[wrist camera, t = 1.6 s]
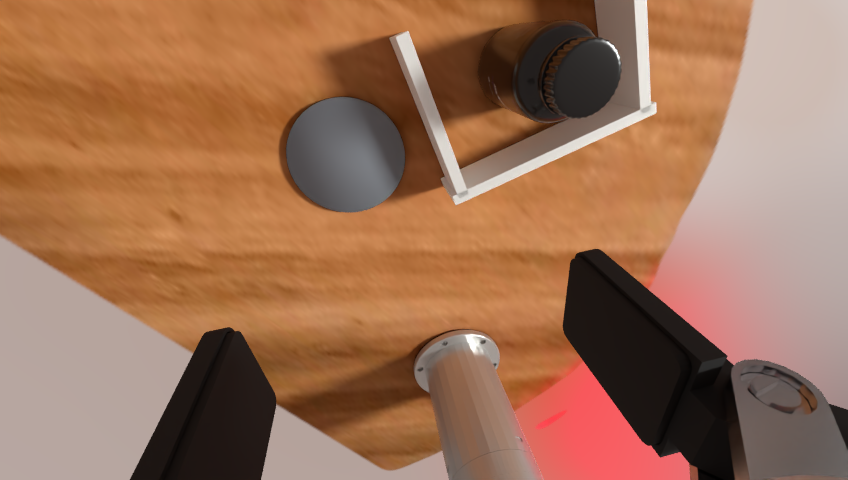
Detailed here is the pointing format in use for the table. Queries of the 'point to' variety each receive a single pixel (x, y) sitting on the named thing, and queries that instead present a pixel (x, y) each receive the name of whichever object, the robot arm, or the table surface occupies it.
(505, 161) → the white u-shaped bracket
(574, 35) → the supplement bottle
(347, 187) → the mat
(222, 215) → the table surface
